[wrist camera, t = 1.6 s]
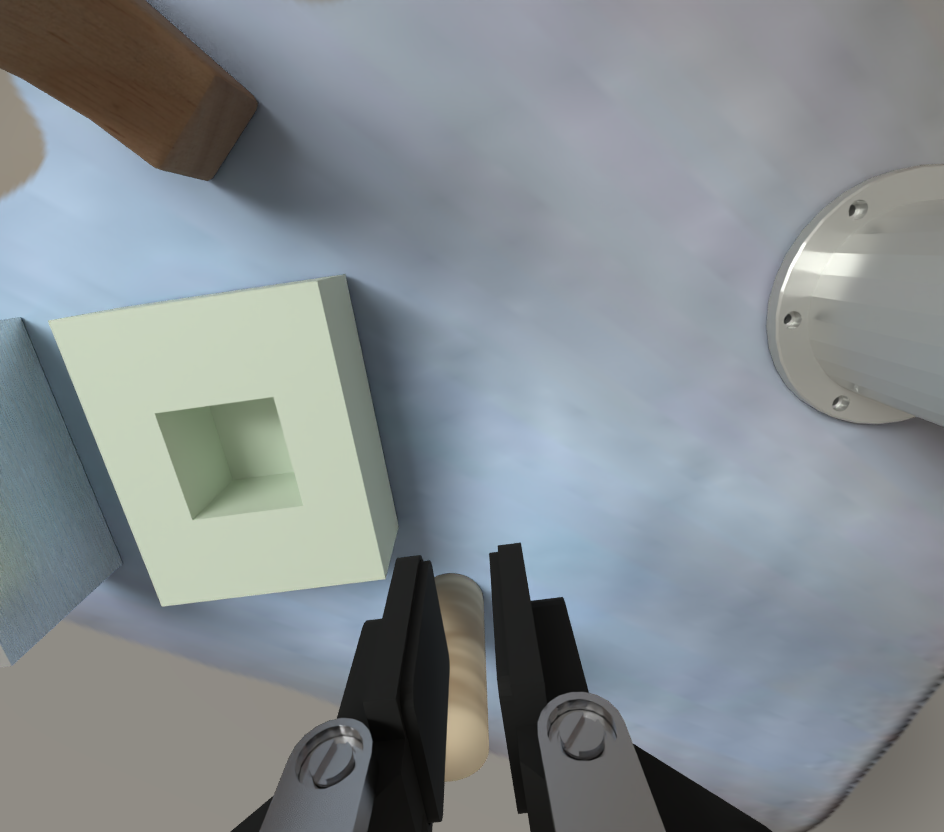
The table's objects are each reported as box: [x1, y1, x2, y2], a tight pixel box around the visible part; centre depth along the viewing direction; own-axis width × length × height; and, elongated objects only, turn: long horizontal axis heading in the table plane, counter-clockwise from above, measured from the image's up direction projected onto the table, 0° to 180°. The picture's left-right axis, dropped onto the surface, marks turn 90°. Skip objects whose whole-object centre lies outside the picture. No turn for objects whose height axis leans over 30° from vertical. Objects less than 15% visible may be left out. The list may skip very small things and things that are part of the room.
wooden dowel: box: [434, 573, 489, 782], centre depth 28 cm, size 4×4×10 cm
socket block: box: [48, 274, 399, 607], centre depth 26 cm, size 12×14×5 cm
